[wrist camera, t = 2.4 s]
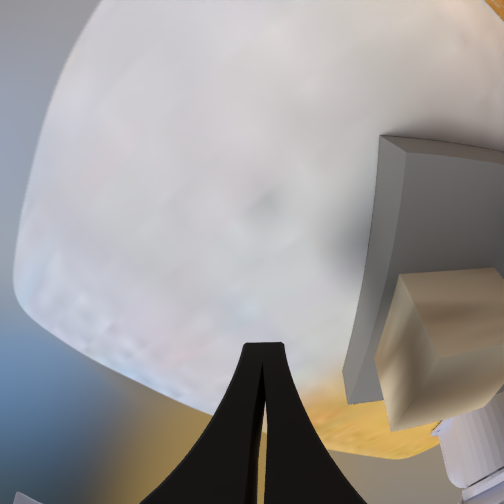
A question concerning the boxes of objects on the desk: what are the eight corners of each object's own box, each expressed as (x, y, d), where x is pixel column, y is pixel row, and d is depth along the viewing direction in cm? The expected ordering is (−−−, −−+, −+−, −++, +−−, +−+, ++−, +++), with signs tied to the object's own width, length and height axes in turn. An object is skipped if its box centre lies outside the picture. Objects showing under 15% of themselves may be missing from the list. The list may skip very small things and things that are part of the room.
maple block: (457, 345, 13) (484, 406, 9) (373, 358, 13) (390, 432, 10) (493, 267, 10) (540, 331, 6) (399, 274, 10) (439, 358, 7)
